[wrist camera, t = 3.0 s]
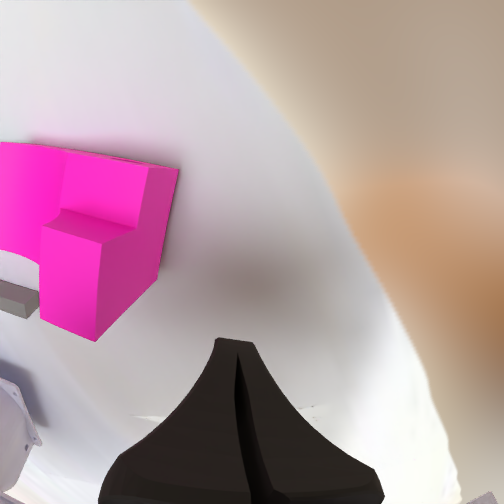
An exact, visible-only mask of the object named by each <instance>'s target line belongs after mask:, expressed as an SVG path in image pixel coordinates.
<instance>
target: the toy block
mask: <svg viewBox="0 0 504 504" xmlns="http://www.w3.org/2000/svg"><path fill="white" fill-rule="evenodd" d="M178 172H179V169H174V168H169V167H165V166H160V165H155V164H150V163H145V162H140V161H135V160H130V159H125V158H119V157H114V156H108V155H103V154H97V153H91V152H85V151H79V150H73V149H66V148H59V147H52V146H45V145H37V144H28V143H11V142H1V143H0V250H5V251H9V252H12V253H15V254H18V255H21V256H24V257H26V258H28V259H30V260H32V261H34V262H36V263H37V264H39V265H40V266H39V300H40V318H41V319H43V320H45V321H47V322H49V323H51V324H54V325H56V326H58V327H60V328H63V329H65V330H67V331H69V332H72V333H74V334H76V335H79V336H81V337H84V338H86V339H89V340H91V341H94V342H96V341H97V340H98V338H99V337H100V336H101V335H102V334H103V333H104V332H105V331H106V330H107V329H108V328H109V327H110V326H111V325H112V324H113V323H114V322H115V321H116V320H117V319H118V318H119V317H120V316H121V315H122V314H123V313H124V312H125V311H126V310H127V309H128V308H129V307H130V306H131V305H132V304H133V303H134V302H135V301H136V300H137V299H138V298H139V297H140V296H141V295H142V294H143V293H144V292H145V291H146V290H147V289H148V288H149V287H150V286H151V285H152V284H153V283H154V282H155V281H156V280H157V277H158V271H159V265H160V259H161V253H162V248H163V243H164V237H165V232H166V227H167V222H168V217H169V212H170V208H171V203H172V198H173V194H174V189H175V185H176V180H177V176H178Z"/></svg>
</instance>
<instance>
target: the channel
mask: <svg viewBox="0 0 504 504" xmlns="http://www.w3.org/2000/svg"><path fill="white" fill-rule="evenodd" d="M39 306H40V305H39V297H38V291H35V290H31V289H28V288H24V287H21V286H18V285H15V284H11V283H8V282H5V281H2V280H0V310H2V311H5V312H8V313H10V314H13V315H16V316H19V317H22V318H25V319H27V318H28V317H29V316H30V315H31V314H32V313H33V312H34V311H35V310H36V309H37V308H38V307H39Z"/></svg>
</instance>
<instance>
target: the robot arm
mask: <svg viewBox="0 0 504 504" xmlns="http://www.w3.org/2000/svg"><path fill="white" fill-rule="evenodd" d="M34 444H35V445H37V446H42V442H41V440H40V438H39V436H38V433H37V431H36V429H35V427H34V424H33V422H32V420H31V417H30V415H29V413H28V410H27V408H26V405H25V402H24V400H23V397H22V394H21V392H20V389H19V387H18V386H17V385H16V384H14V383H12V382H9V381H7V380H5V379H3V378H1V377H0V504H24V503H22V502H20V501H18V500H16V499H14V498H12V497H10V496H9V495H7V494H5V493H3V492H5V491H7V490H9V489H11V488H12V487H13V486H14V485H15V484H16V482H17V481H18V478H19V476H20V473H21V471H22V469H23V467H24V464H25V462H26V460H27V458H28V455H29V453H30V451H31V449H32V447H33V445H34ZM384 497H385V495H384V492H383V489H382V486H381V483H380V480H379V478H378V476H377V474H376V472H375V470H374V469H373V468H371V467H369V466H367V465H365V464H364V463H362V462H360V461H358V460H357V459H355V458H353V457H351V456H350V455H348V454H347V453H345V452H344V451H342V450H341V449H339V448H338V447H337V446H335V445H334V444H332V443H331V442H330V441H329V440H327V439H326V438H325V437H324V436H323V435H321V434H320V433H319V432H318V431H317V430H316V429H314V428H313V427H312V426H311V425H310V424H309V423H308V422H307V421H306V420H305V419H304V418H303V417H302V416H301V415H300V414H299V413H298V411H297V410H296V409H295V408H294V407H293V406H292V404H291V403H290V402H289V401H288V399H287V398H286V397H285V395H284V394H283V393H282V391H281V390H280V388H279V387H278V385H277V384H276V382H275V381H274V379H273V378H272V376H271V374H270V373H269V371H268V370H267V368H266V366H265V364H264V362H263V361H262V359H261V357H260V355H259V353H258V351H257V349H256V347H255V345H254V344H253V342H247V341H240V340H233V339H226V338H220V337H219V338H217V339H215V343H214V348H213V351H212V354H211V356H210V358H209V361H208V362H207V364H206V366H205V368H204V370H203V372H202V374H201V375H200V377H199V378H198V380H197V381H196V383H195V384H194V386H193V387H192V389H191V390H190V392H189V393H188V394H187V396H186V397H185V398H184V399H183V401H182V402H181V403H180V404H179V405H178V406H177V408H176V409H175V410H174V411H173V412H172V413H171V414H170V415H169V416H168V417H167V418H166V419H165V420H164V421H163V422H162V423H161V424H160V425H159V426H157V427H156V428H155V429H154V430H153V431H152V432H150V433H149V434H148V435H147V436H146V437H145V438H143V439H142V440H141V441H139V442H138V443H136V444H135V445H133V446H132V447H131V448H129V449H128V450H126V451H125V452H123V453H122V454H120V455H119V456H118V458H117V459H116V460H115V462H114V463H113V465H112V466H111V468H110V470H109V471H108V473H107V475H106V477H105V479H104V481H103V484H102V487H101V490H100V494H99V498H98V504H381V503H382V501H383V500H384ZM467 504H498V503H497V501H496V499H495V497H494V495H493V493H492V492H491V491H490V492H487V493H486V494H483V495H481V496H479V497H477V498H475V499H473V500H472V501H470V502H469V503H467Z"/></svg>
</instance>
